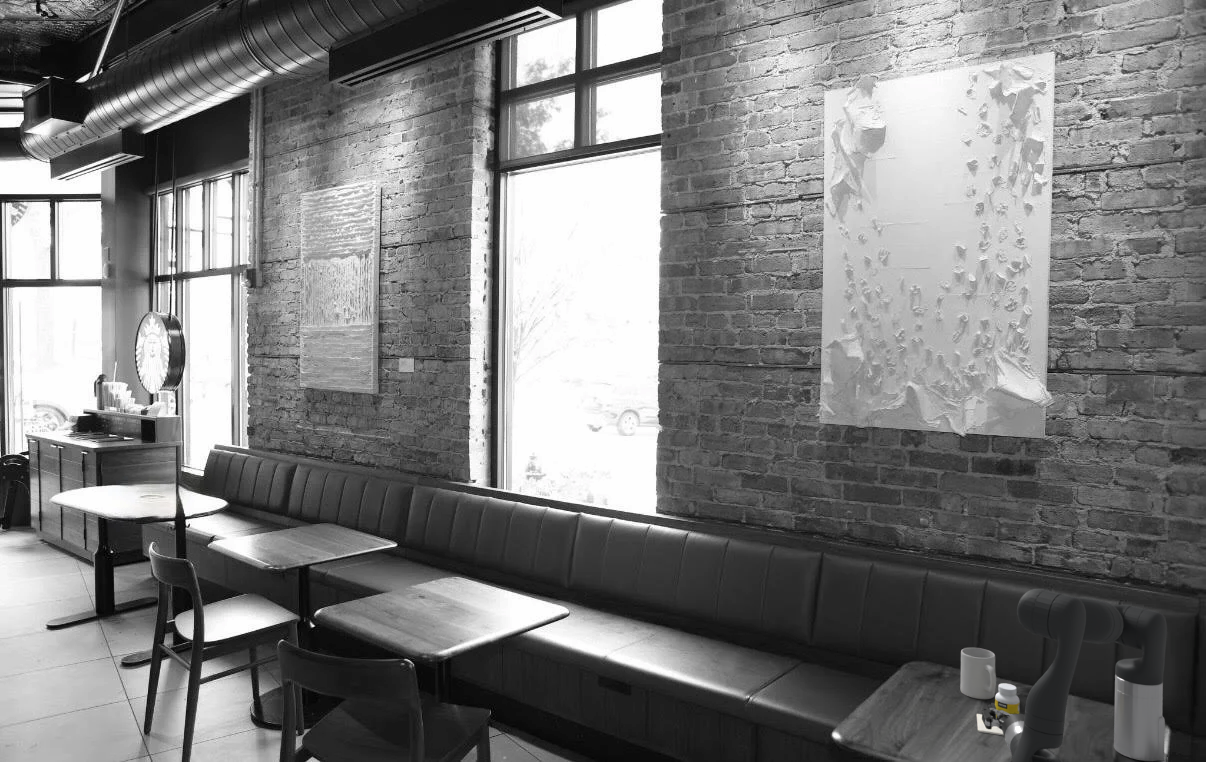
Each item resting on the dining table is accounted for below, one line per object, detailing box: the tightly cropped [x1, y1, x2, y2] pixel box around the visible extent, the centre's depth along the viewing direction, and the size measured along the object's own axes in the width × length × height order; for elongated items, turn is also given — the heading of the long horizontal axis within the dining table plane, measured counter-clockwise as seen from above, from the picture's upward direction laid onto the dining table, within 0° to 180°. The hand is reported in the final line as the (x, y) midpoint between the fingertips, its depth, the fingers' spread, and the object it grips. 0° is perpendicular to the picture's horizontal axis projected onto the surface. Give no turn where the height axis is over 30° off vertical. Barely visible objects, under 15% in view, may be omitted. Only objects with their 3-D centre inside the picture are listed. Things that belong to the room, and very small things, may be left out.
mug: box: [959, 647, 997, 700], centre depth 226 cm, size 12×8×11 cm
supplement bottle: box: [994, 682, 1020, 718], centre depth 206 cm, size 5×5×10 cm
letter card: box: [976, 713, 1004, 736], centre depth 207 cm, size 13×10×1 cm
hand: (1012, 709), depth 198 cm, fingers open, 8 cm apart
